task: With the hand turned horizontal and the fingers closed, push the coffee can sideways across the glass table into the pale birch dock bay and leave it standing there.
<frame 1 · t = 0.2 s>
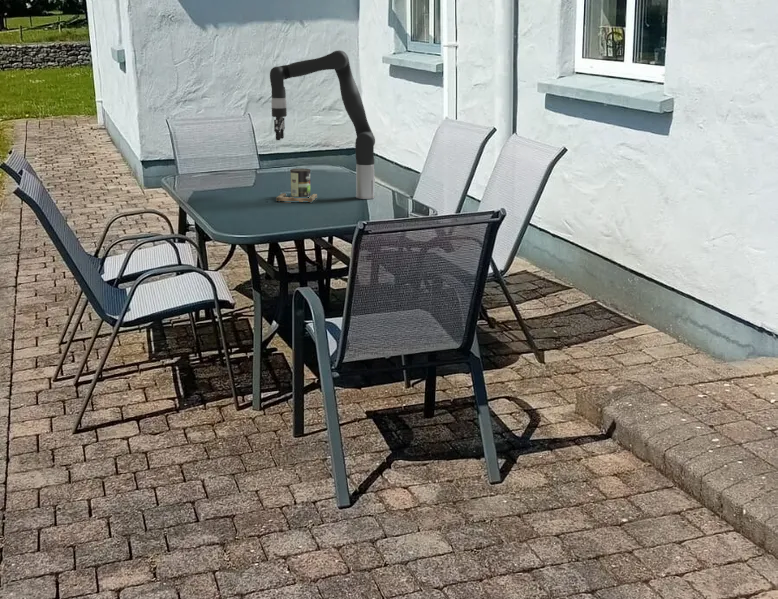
hand: (279, 139, 500), 29 cm above the table, tool pointing down, fingers open, 8 cm apart
coffee can: (300, 197, 504), on the table
dock bay: (297, 199, 495), on the table
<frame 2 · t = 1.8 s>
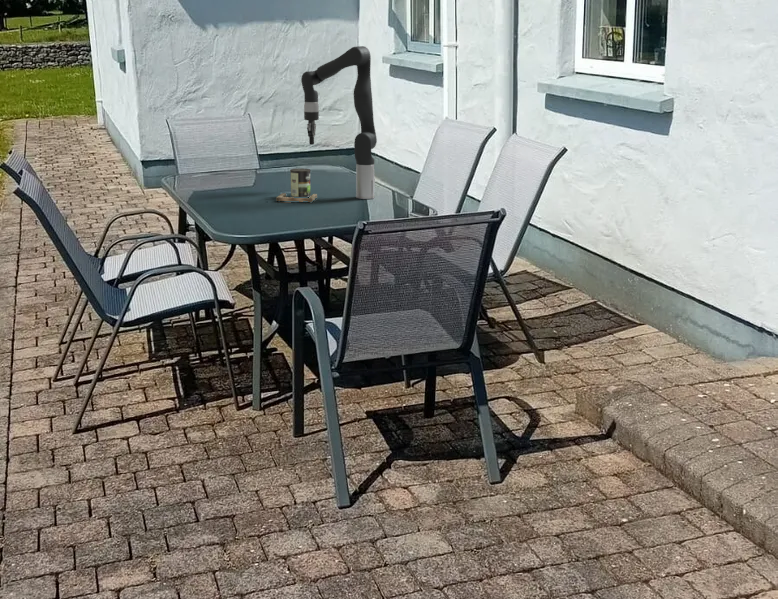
hand: (311, 144, 513), 25 cm above the table, tool pointing down, fingers closed
nothing on the table moved.
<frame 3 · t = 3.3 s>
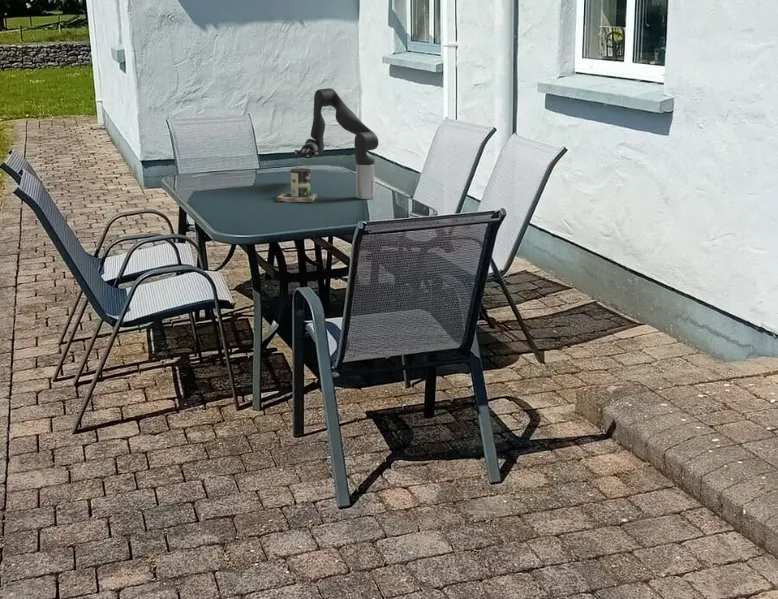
hand: (303, 154, 508), 20 cm above the table, tool horizontal, fingers closed
nothing on the table moved.
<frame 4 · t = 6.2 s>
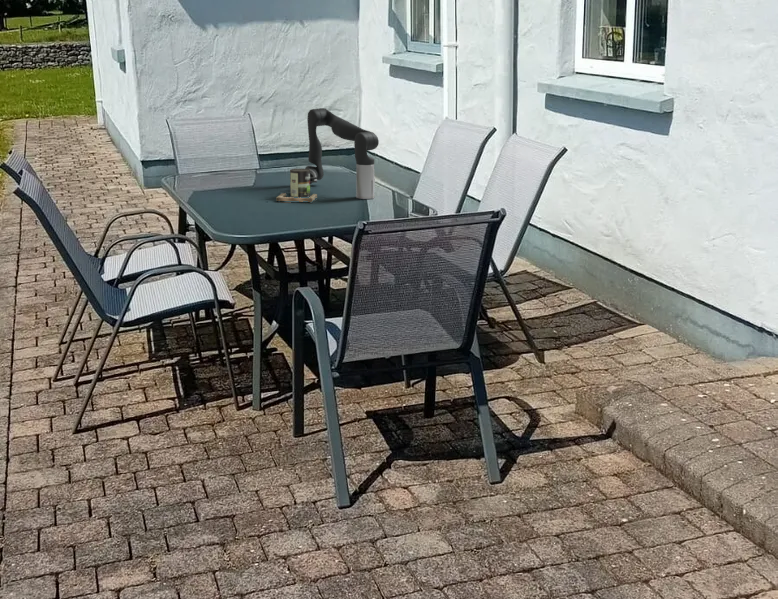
hand: (302, 181, 506), 7 cm above the table, tool horizontal, fingers closed
coffee can: (300, 197, 503), on the table, touching gripper
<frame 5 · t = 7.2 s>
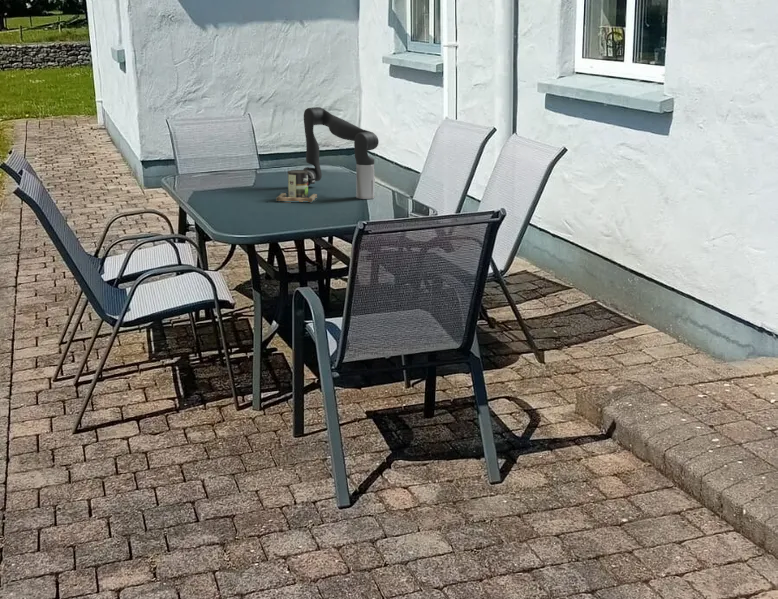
hand: (299, 183, 500), 7 cm above the table, tool horizontal, fingers closed
coffee can: (298, 199, 498), on the table, touching gripper
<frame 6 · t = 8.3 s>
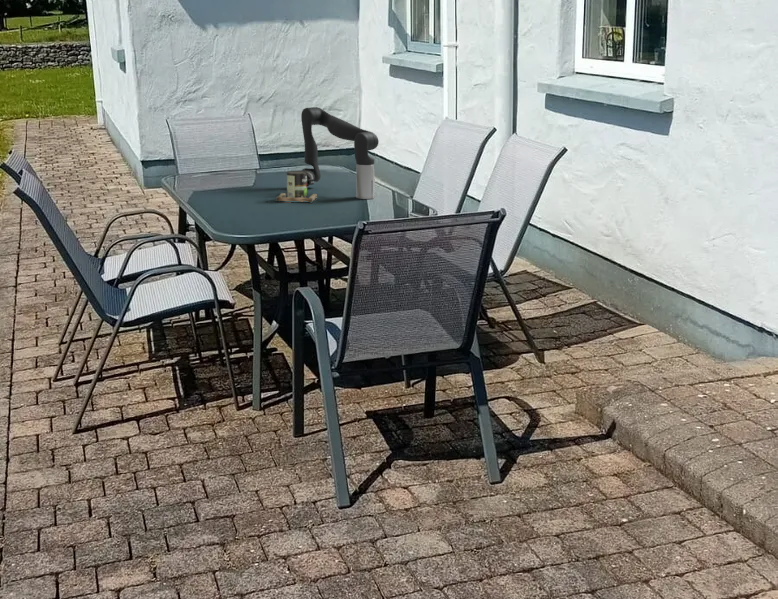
hand: (298, 184, 497), 7 cm above the table, tool horizontal, fingers closed
coffee can: (297, 200, 495), on the table, touching gripper
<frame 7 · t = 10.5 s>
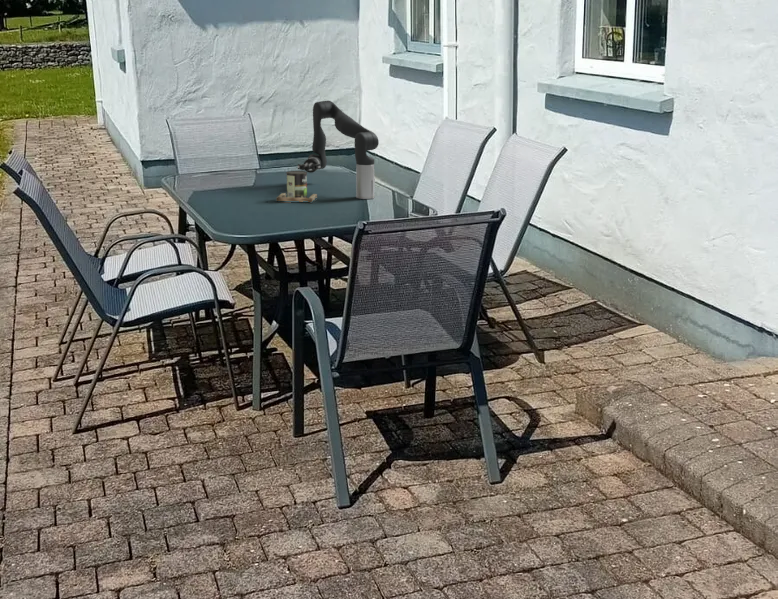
hand: (306, 168, 510), 13 cm above the table, tool horizontal, fingers closed
coffee can: (297, 200, 495), on the table
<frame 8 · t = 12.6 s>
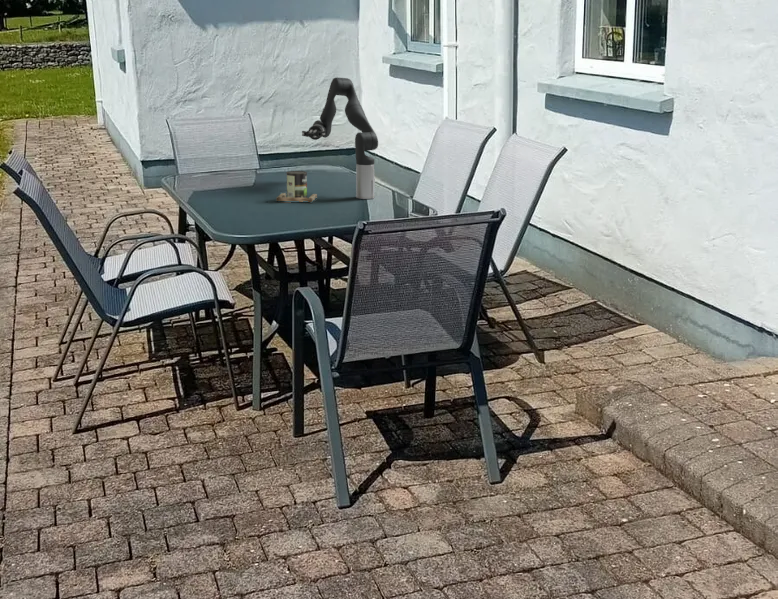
hand: (310, 135, 509), 30 cm above the table, tool horizontal, fingers closed
nothing on the table moved.
at the end: coffee can inside the target area (0.4 cm from its centre), on the table; coffee can tilted 0°; coffee can moved 9.4 cm from its start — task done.
